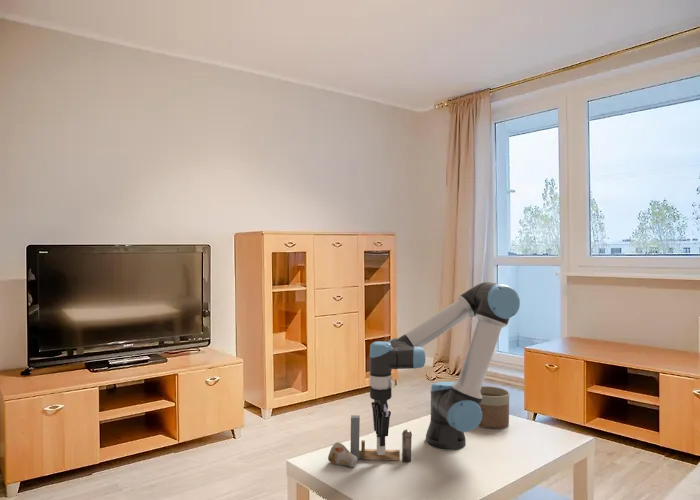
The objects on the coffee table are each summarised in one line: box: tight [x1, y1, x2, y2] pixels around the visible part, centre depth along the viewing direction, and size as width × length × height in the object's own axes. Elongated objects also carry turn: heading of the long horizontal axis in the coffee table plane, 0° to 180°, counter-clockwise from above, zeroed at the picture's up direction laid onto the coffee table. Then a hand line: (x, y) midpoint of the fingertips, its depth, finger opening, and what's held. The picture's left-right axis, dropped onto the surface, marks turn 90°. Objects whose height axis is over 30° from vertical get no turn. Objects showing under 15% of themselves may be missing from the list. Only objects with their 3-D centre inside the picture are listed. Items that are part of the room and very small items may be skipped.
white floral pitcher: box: [327, 442, 359, 468], centre depth 179 cm, size 8×10×10 cm
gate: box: [360, 440, 401, 461], centre depth 183 cm, size 14×2×6 cm, turn 88°
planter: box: [477, 385, 510, 429], centre depth 222 cm, size 16×16×14 cm
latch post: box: [349, 414, 361, 462], centre depth 183 cm, size 6×4×15 cm, turn 87°
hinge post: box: [401, 429, 413, 464], centre depth 182 cm, size 3×3×11 cm
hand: (381, 454), depth 181 cm, fingers closed
